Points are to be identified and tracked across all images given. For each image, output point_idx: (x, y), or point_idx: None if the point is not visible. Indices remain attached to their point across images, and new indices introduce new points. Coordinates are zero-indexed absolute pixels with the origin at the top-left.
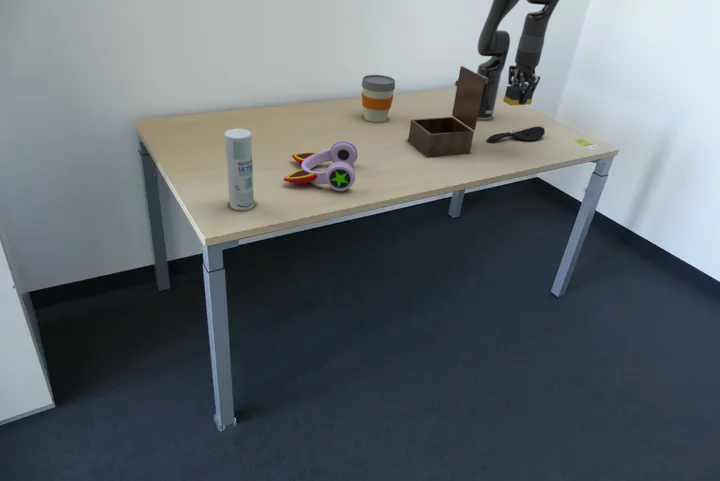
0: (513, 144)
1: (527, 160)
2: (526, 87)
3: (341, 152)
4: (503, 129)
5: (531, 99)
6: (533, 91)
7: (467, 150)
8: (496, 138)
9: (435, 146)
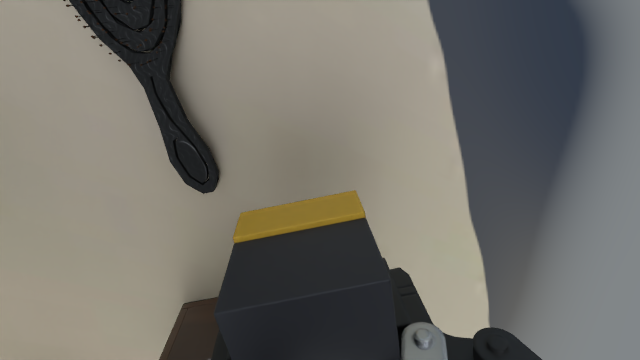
0: (227, 88)
1: (391, 101)
2: (309, 338)
3: None
4: (29, 54)
5: (364, 217)
6: (525, 352)
7: None
8: (209, 165)
9: None
